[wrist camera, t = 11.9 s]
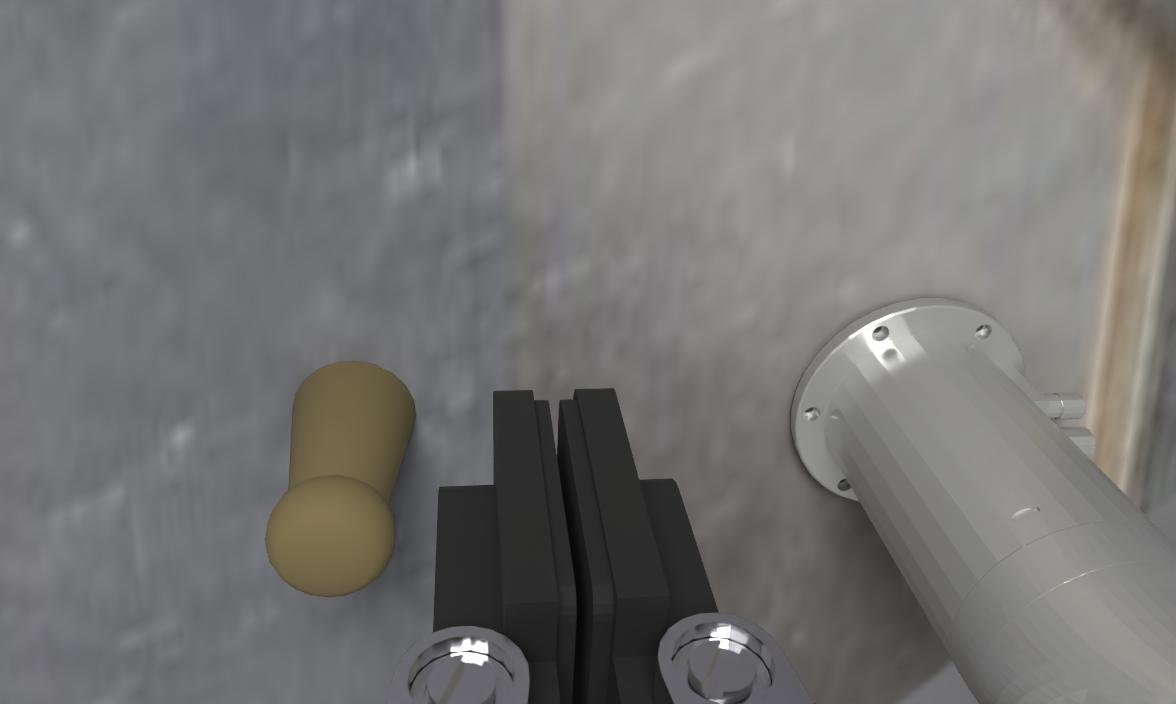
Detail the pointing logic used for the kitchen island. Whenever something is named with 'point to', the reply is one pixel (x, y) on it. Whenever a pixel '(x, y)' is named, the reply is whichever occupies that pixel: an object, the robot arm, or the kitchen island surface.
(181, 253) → the kitchen island surface
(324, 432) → the cork
